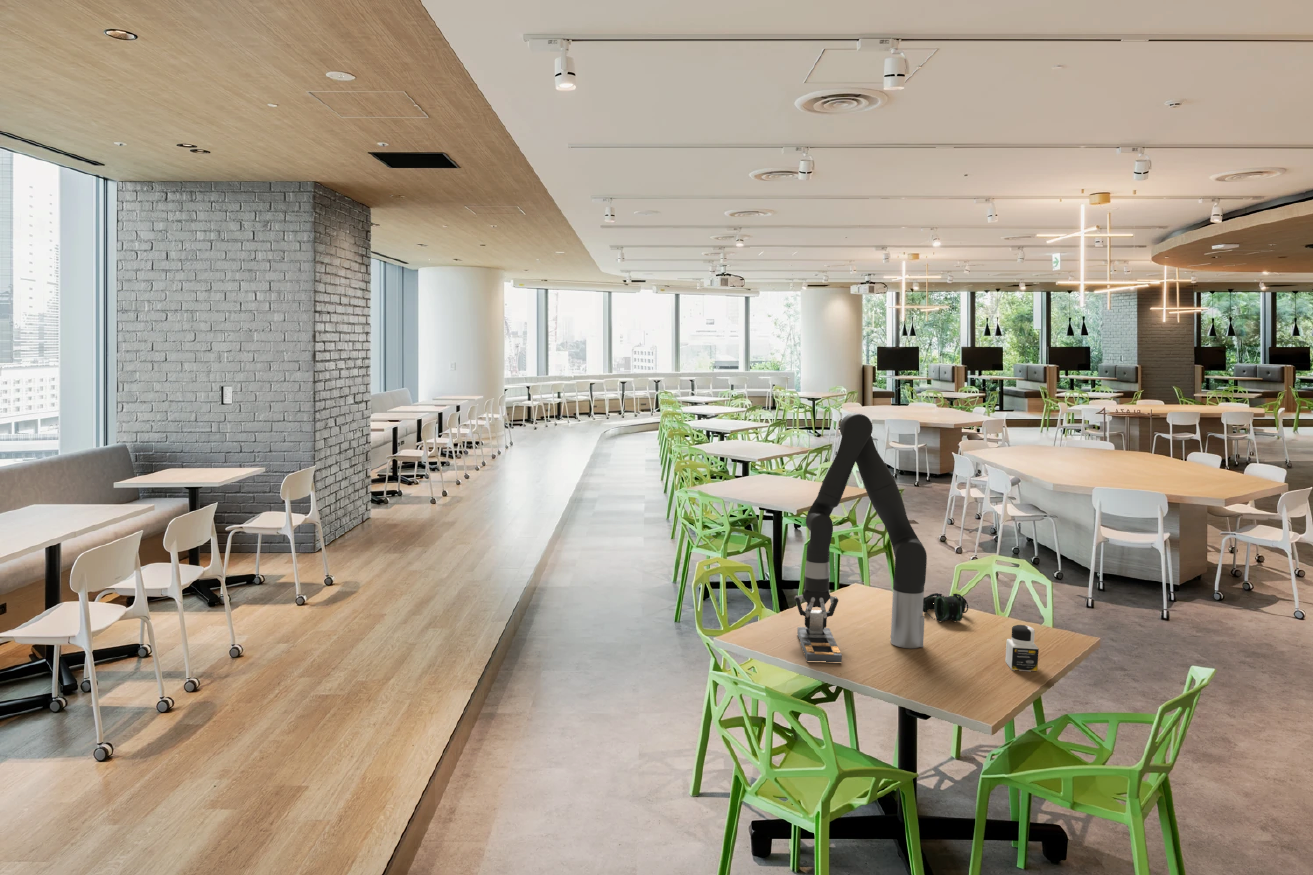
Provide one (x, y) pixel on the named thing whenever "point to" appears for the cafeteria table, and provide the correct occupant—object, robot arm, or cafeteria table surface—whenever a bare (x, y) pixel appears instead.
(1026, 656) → the medicine bottle
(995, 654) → the cafeteria table surface
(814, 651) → the slotted rack
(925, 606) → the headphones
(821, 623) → the steel block
